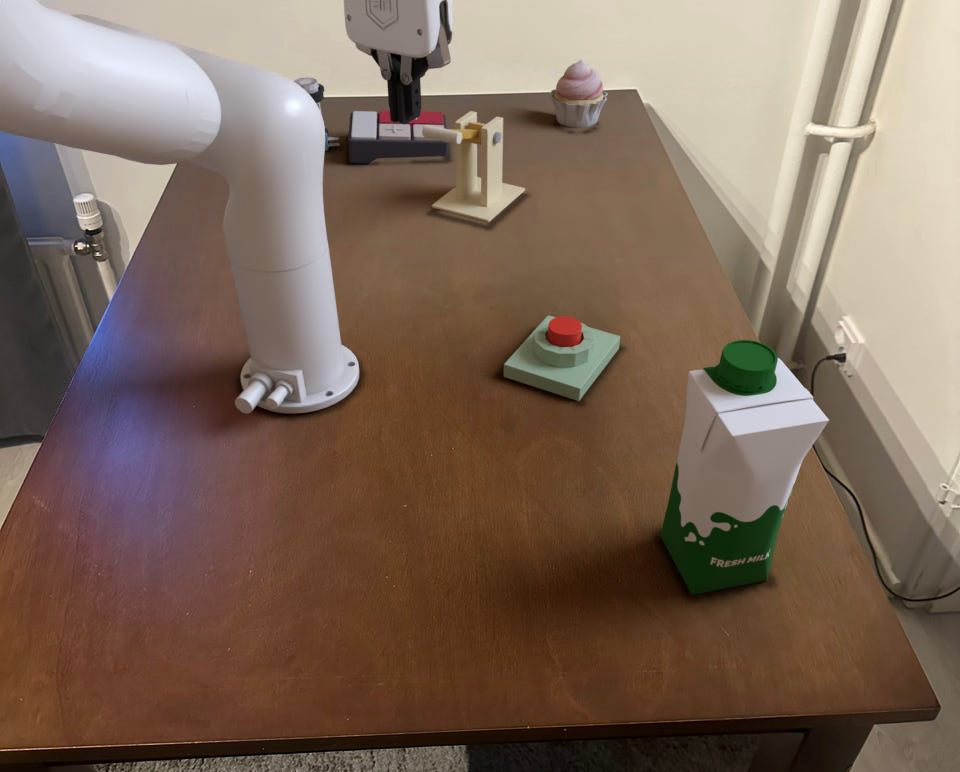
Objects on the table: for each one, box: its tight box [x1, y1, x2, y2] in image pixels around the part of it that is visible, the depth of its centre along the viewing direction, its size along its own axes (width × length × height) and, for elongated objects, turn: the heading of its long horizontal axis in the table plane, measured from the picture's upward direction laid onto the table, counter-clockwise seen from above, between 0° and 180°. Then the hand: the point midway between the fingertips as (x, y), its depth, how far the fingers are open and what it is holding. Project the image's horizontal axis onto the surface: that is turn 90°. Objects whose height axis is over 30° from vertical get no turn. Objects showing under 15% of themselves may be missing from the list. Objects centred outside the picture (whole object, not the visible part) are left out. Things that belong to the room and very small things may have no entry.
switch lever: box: [422, 121, 487, 146], centre depth 115 cm, size 12×5×2 cm, turn 151°
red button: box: [548, 315, 582, 347], centre depth 96 cm, size 4×4×2 cm
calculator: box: [347, 110, 449, 164], centre depth 138 cm, size 11×4×15 cm
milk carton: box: [660, 339, 830, 596], centre depth 71 cm, size 9×9×20 cm
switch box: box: [503, 315, 621, 402], centre depth 97 cm, size 11×9×4 cm
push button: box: [293, 76, 340, 151], centre depth 136 cm, size 7×5×10 cm
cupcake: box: [549, 59, 608, 129], centre depth 142 cm, size 9×9×10 cm
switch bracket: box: [431, 110, 526, 223], centre depth 122 cm, size 11×9×12 cm
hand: (405, 118), depth 92 cm, fingers closed
